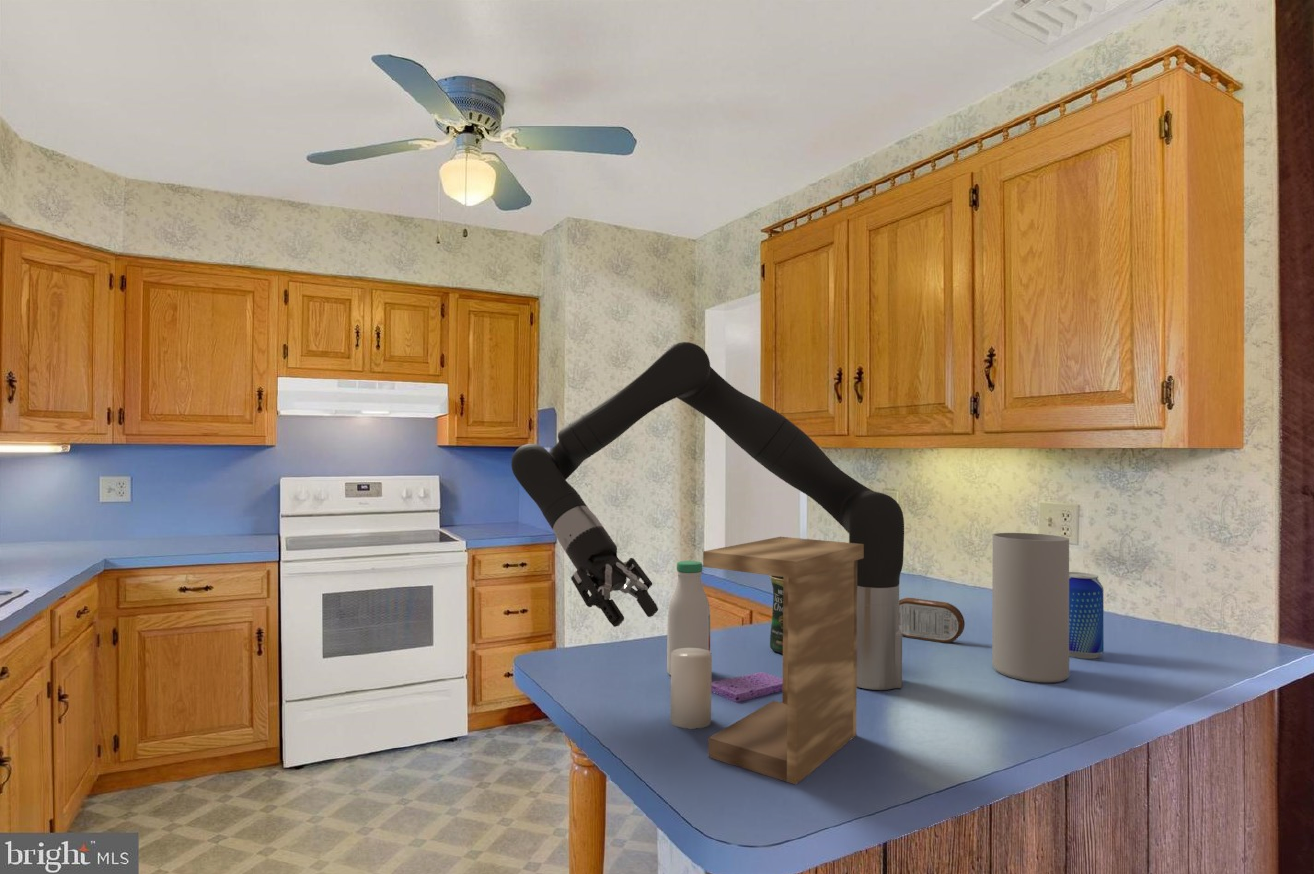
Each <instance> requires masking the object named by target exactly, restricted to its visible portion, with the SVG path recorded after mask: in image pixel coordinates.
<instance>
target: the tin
mask: <svg viewBox="0 0 1314 874" xmlns="http://www.w3.org/2000/svg"><path fill="white" fill-rule="evenodd" d="M899 629H900V631H901V632H902V637H906V638H910V639H917V640H923V641H930V642H936V643H941V644H942V643H943V644H944V643H945V644H947V643H953V641H956V640H957V639H959V638H960V636H961V635H962V634H963V632H964V630H965V618H964V616H963V613H962V611H960V609H958V608H957V606H955V605H953V604H951V603H949V602H946V601H937V600H931V599H930V600H928V599H921V598H916V597H915V598H914V597H904V598H902V599H899Z"/></svg>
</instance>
